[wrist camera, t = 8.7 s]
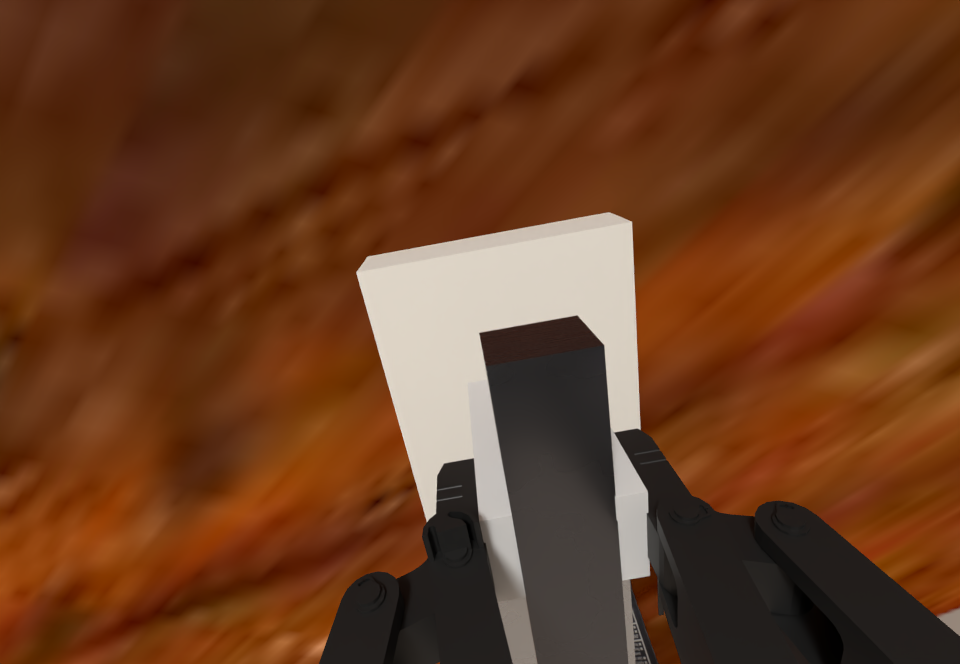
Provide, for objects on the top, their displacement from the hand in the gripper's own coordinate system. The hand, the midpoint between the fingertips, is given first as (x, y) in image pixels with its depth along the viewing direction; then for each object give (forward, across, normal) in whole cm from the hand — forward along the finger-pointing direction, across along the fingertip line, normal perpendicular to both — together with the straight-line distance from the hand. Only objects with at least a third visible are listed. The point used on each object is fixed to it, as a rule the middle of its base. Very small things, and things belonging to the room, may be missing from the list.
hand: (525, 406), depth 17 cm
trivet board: (+8, 0, +3) cm, 9 cm away
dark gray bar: (-1, 0, +7) cm, 7 cm away
